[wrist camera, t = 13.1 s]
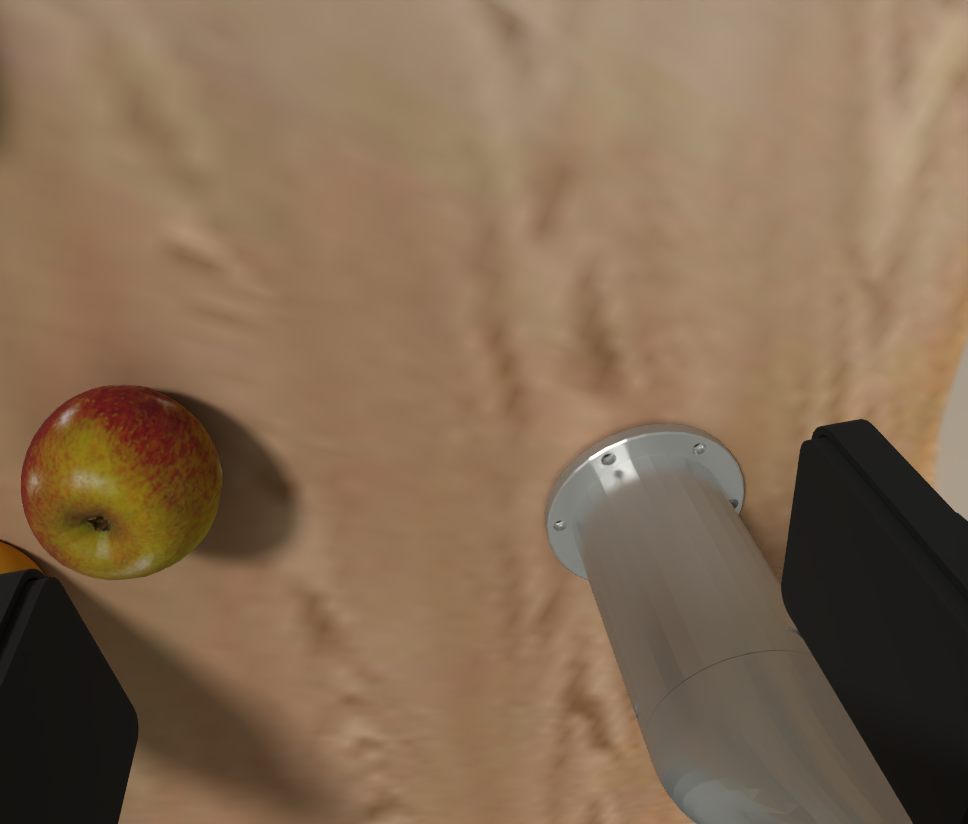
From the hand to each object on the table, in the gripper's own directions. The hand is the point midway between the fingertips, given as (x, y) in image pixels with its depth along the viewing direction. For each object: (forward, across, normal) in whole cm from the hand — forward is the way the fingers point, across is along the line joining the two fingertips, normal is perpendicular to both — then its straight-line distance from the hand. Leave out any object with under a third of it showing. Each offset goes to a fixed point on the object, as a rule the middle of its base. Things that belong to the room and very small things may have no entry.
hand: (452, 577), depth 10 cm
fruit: (+30, +16, +16) cm, 38 cm away
